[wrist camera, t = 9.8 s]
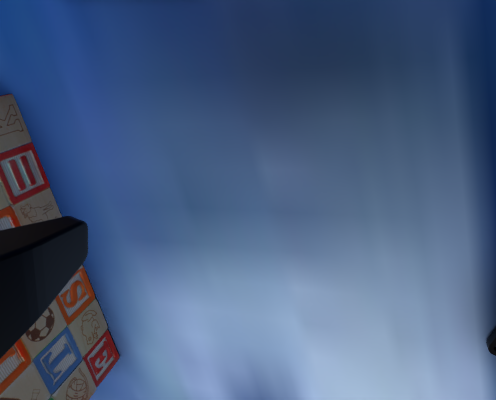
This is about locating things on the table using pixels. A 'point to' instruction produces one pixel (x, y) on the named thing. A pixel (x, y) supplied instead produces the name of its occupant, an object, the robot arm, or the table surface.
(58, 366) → the stack of blocks
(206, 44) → the table surface
